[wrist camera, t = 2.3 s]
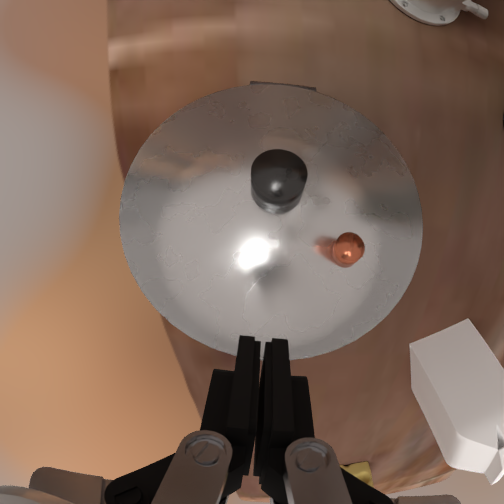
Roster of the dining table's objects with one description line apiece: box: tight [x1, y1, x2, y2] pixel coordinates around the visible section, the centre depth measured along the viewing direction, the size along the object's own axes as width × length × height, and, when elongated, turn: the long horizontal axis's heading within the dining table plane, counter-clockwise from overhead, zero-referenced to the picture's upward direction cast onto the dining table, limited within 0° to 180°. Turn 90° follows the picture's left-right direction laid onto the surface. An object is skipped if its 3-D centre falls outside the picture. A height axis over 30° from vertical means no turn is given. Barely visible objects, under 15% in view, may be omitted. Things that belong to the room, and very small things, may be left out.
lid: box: [119, 81, 423, 360], centre depth 17 cm, size 19×20×3 cm
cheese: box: [339, 461, 374, 488], centre depth 53 cm, size 10×11×10 cm
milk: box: [409, 319, 504, 485], centre depth 31 cm, size 12×12×26 cm
